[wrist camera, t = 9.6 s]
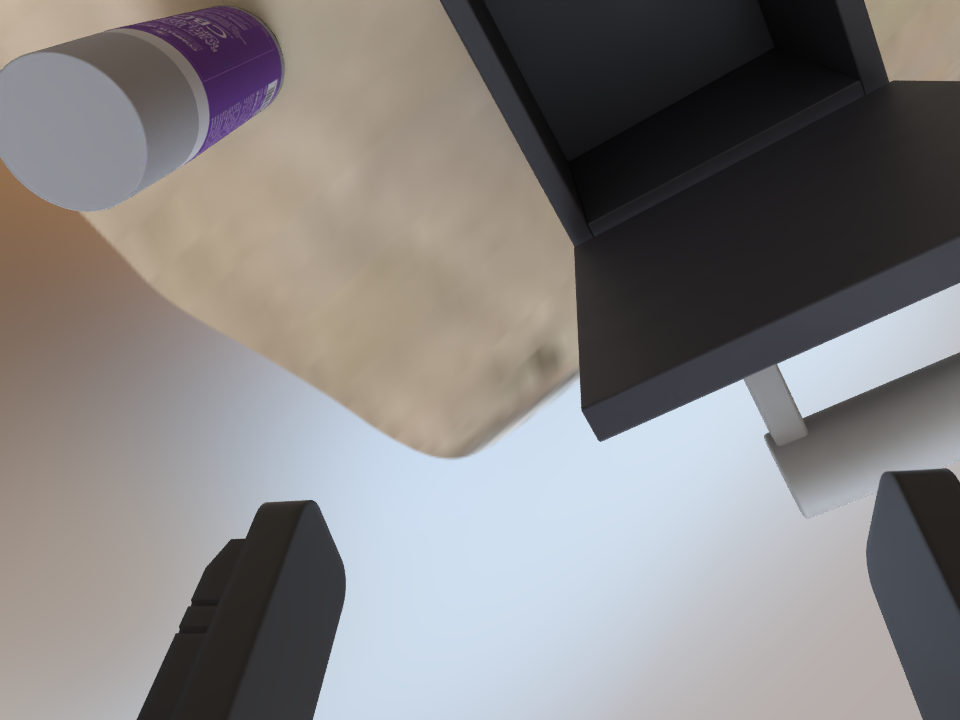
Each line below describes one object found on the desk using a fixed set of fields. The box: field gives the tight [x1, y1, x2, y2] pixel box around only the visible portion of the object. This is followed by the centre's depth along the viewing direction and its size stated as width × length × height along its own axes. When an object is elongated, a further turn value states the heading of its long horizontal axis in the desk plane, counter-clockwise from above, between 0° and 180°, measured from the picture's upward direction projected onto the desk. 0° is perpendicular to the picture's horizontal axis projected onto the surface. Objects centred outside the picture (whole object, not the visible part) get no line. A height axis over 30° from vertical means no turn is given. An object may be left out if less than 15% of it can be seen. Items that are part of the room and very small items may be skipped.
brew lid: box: [574, 81, 960, 519], centre depth 20 cm, size 14×12×5 cm
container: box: [0, 6, 284, 212], centre depth 28 cm, size 5×5×15 cm
